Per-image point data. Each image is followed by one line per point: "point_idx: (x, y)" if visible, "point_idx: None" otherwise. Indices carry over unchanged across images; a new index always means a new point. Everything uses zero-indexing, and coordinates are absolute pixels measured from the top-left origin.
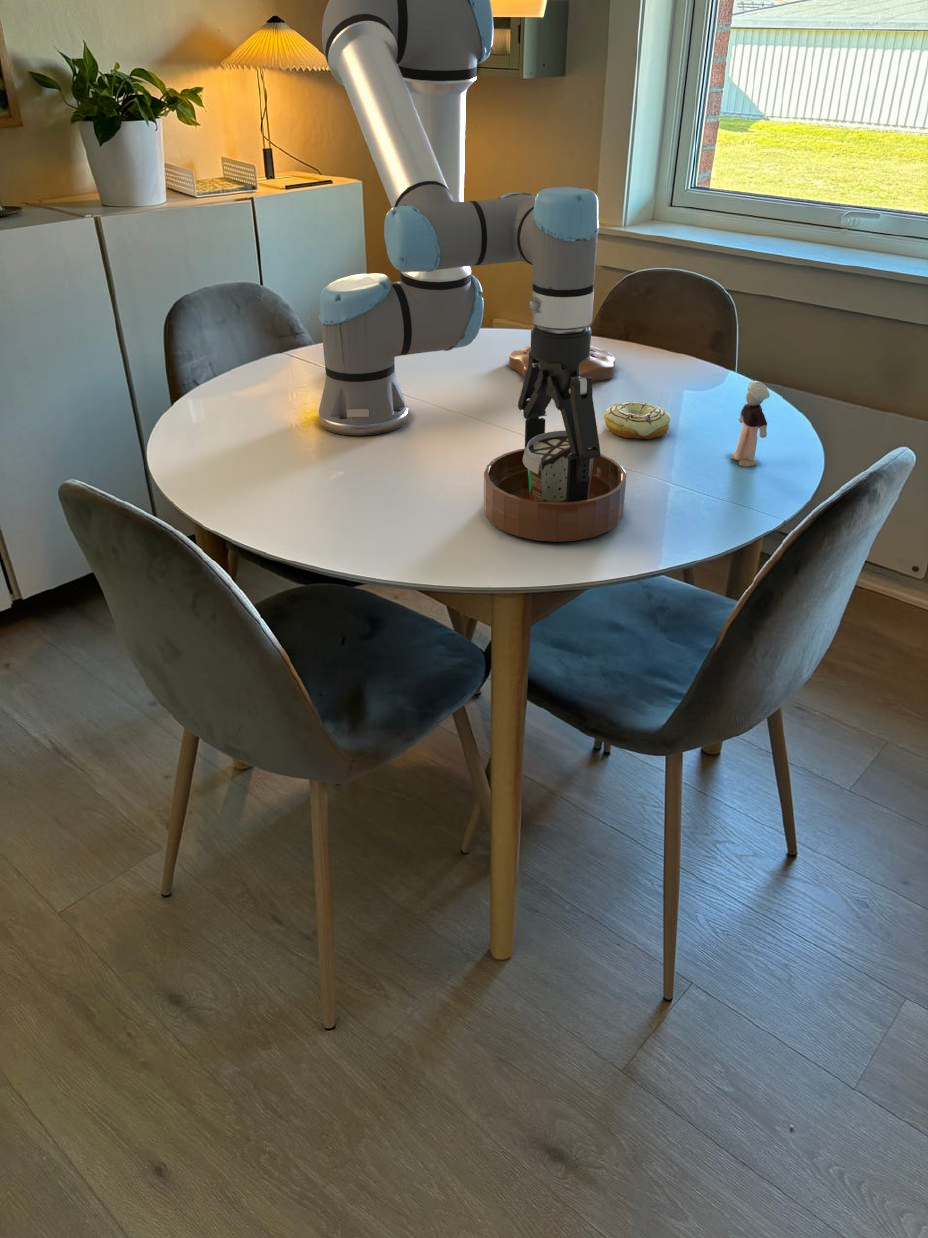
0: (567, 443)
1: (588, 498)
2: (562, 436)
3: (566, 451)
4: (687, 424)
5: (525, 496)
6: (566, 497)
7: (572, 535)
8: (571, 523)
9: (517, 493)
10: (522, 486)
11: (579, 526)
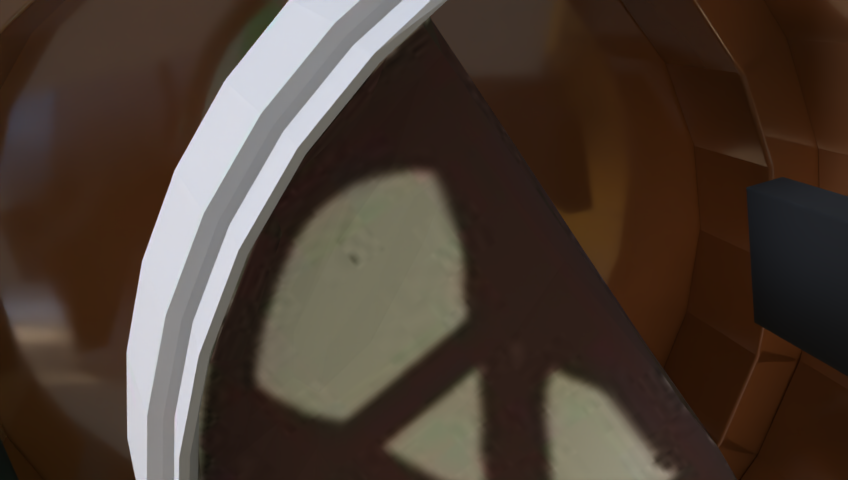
0: (459, 418)
1: (238, 3)
2: (202, 464)
3: (724, 462)
4: None
5: None
6: (787, 337)
7: None
8: None
9: (101, 475)
10: (12, 450)
11: None
